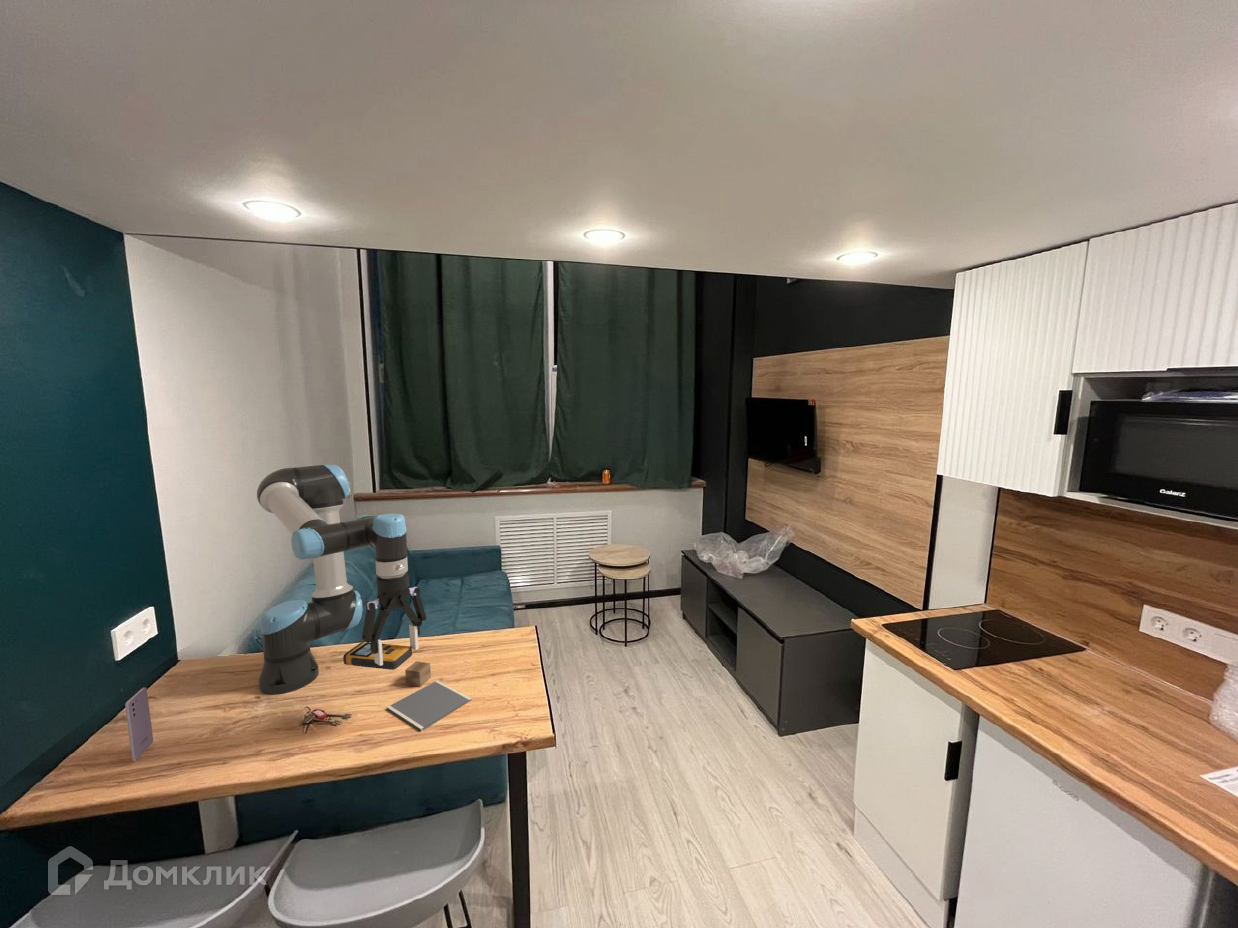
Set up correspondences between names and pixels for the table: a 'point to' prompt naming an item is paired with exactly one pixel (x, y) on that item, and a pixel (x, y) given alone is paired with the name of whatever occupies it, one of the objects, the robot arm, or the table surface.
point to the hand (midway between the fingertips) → (397, 655)
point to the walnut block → (418, 674)
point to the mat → (428, 705)
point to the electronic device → (365, 658)
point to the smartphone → (139, 723)
